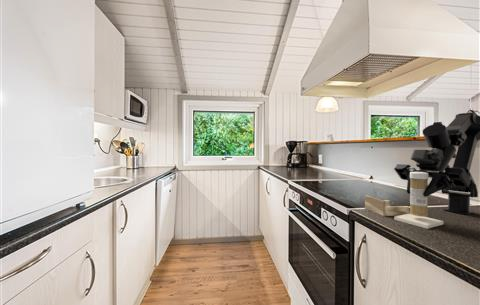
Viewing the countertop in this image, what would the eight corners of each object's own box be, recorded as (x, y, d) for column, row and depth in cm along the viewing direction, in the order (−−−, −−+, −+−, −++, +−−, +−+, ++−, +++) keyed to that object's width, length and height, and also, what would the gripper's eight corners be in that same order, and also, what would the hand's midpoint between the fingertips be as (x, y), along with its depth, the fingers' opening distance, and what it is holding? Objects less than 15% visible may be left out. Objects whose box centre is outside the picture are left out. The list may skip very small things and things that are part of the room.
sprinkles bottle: (427, 214, 70) (428, 172, 70) (428, 218, 67) (428, 173, 67) (409, 211, 73) (410, 171, 73) (408, 215, 70) (409, 172, 70)
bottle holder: (388, 208, 87) (388, 195, 87) (409, 215, 77) (409, 200, 77) (364, 208, 86) (365, 195, 86) (383, 215, 76) (383, 201, 76)
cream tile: (410, 216, 76) (410, 213, 76) (443, 224, 68) (443, 221, 68) (394, 219, 72) (394, 216, 72) (427, 228, 64) (427, 225, 64)
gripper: (398, 141, 80) (375, 173, 76) (465, 139, 62) (440, 181, 59) (412, 162, 83) (391, 194, 79) (480, 166, 65) (457, 208, 62)
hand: (415, 194), depth 70 cm, fingers closed on sprinkles bottle, 4 cm apart
